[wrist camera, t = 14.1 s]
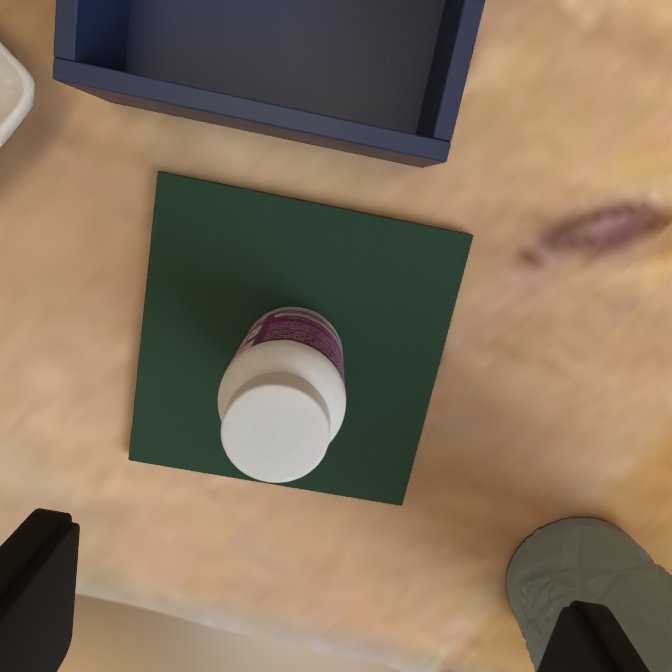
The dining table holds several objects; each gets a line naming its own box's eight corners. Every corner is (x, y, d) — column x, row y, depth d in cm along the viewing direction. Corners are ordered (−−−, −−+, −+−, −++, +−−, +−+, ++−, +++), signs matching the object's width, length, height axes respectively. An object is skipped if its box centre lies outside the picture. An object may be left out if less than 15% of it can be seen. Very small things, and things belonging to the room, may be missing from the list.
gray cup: (461, 583, 33) (533, 795, 21) (578, 471, 31) (726, 640, 19) (573, 662, 35) (695, 898, 23) (690, 562, 33) (887, 765, 21)
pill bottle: (246, 299, 27) (203, 356, 18) (347, 309, 27) (356, 371, 18) (240, 395, 29) (197, 494, 19) (336, 404, 29) (340, 506, 20)
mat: (161, 171, 26) (157, 170, 25) (470, 234, 27) (473, 235, 27) (131, 455, 30) (128, 460, 30) (400, 500, 31) (402, 506, 31)
